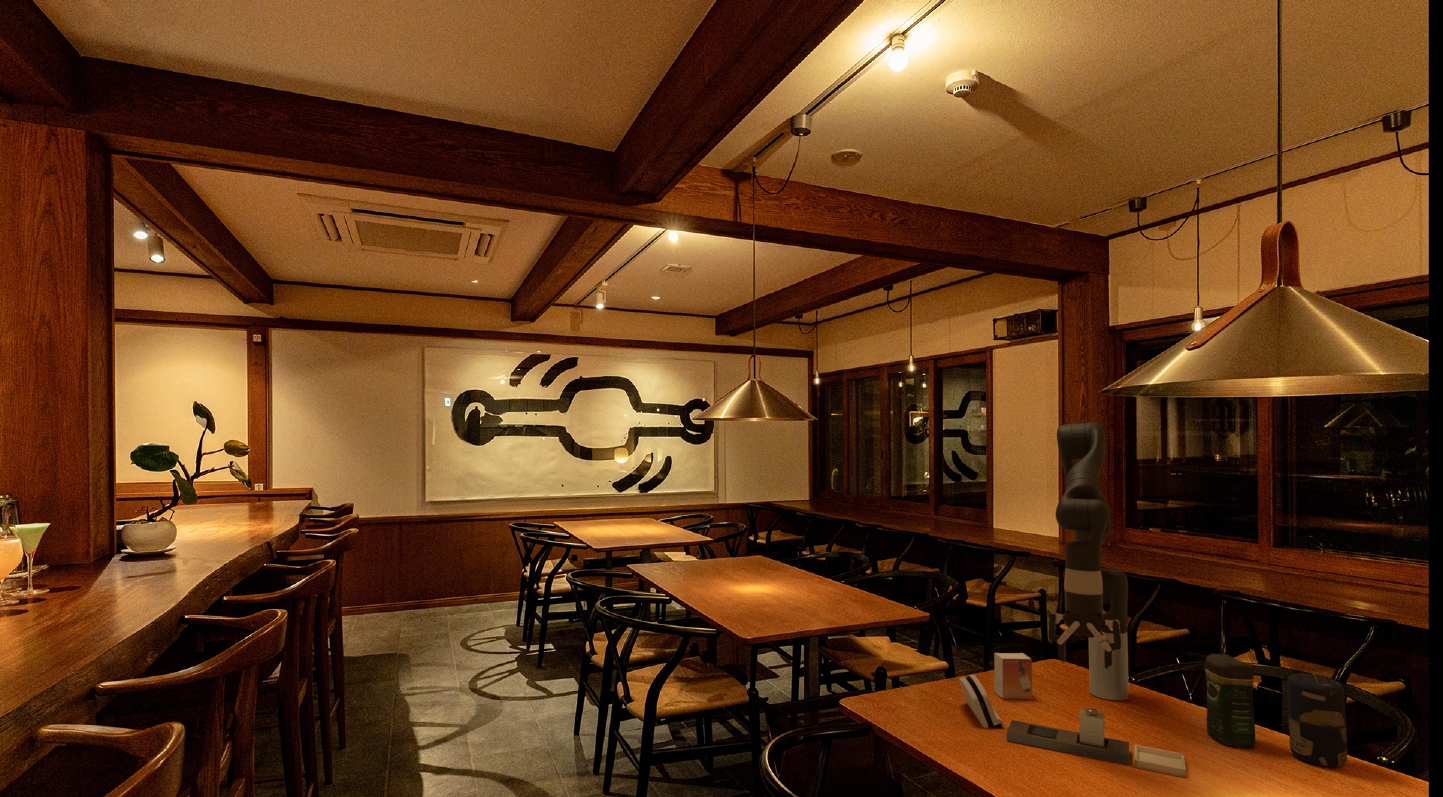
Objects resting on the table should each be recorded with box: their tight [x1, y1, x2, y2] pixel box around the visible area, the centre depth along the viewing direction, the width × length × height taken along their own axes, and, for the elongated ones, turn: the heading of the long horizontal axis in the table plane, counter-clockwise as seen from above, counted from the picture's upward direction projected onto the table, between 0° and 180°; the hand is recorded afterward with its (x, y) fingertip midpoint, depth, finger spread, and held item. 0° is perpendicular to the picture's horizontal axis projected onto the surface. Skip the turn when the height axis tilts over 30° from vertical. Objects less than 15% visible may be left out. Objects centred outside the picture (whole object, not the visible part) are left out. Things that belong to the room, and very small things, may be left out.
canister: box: [1286, 673, 1348, 767], centre depth 155 cm, size 10×10×18 cm
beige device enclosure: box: [958, 674, 1006, 729], centre depth 178 cm, size 17×5×10 cm, turn 174°
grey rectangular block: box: [1078, 707, 1106, 749], centre depth 158 cm, size 5×5×9 cm
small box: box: [994, 652, 1033, 700], centre depth 192 cm, size 8×6×10 cm
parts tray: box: [1134, 744, 1187, 779], centre depth 152 cm, size 9×9×2 cm
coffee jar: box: [1204, 653, 1257, 749], centre depth 165 cm, size 10×8×19 cm
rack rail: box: [1006, 719, 1130, 766], centre depth 160 cm, size 8×24×2 cm, turn 60°
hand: (1084, 664), depth 159 cm, fingers open, 8 cm apart
